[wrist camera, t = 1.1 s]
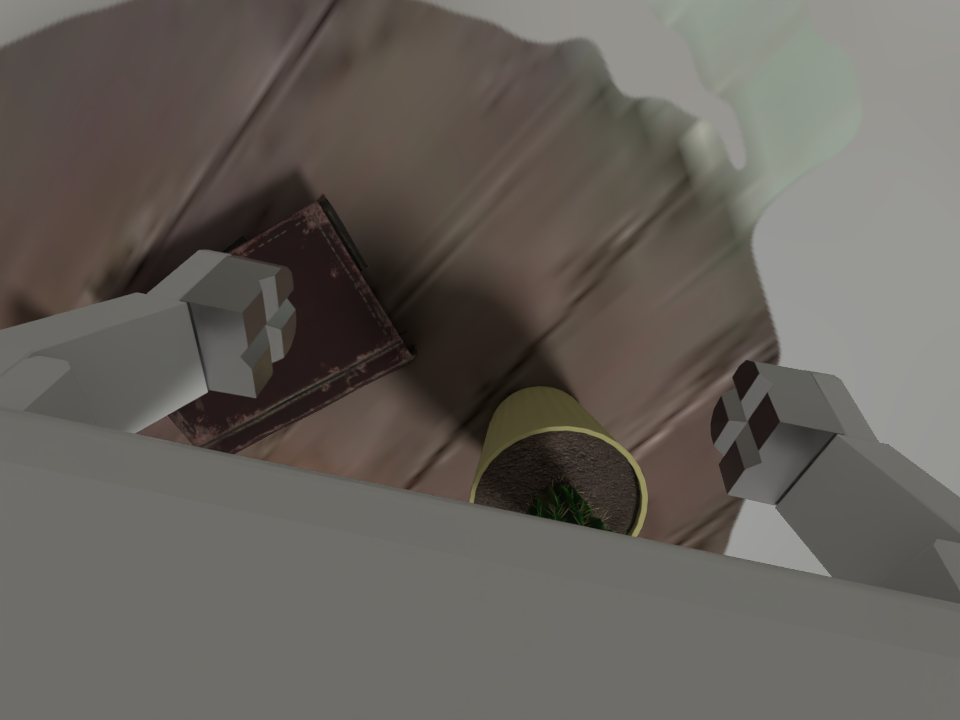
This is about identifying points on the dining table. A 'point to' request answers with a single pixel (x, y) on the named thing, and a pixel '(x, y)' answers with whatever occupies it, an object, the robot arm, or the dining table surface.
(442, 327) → the dining table surface
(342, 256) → the diary
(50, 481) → the robot arm
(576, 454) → the potted cactus
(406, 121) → the dining table surface
